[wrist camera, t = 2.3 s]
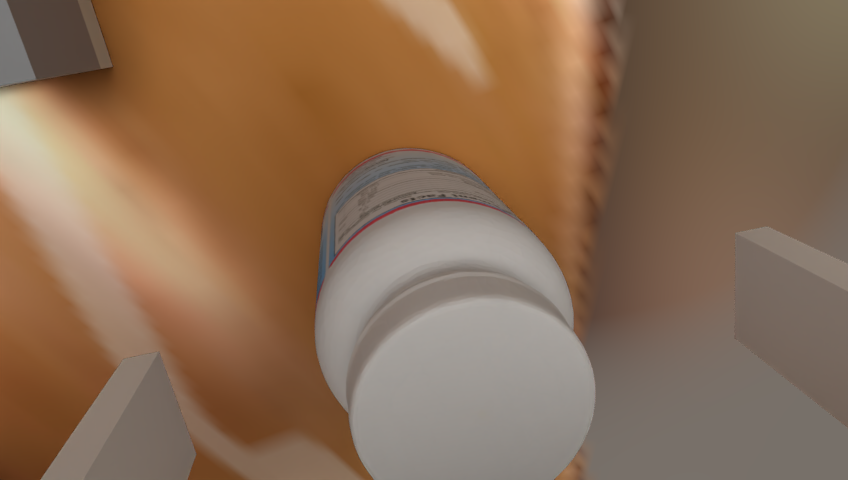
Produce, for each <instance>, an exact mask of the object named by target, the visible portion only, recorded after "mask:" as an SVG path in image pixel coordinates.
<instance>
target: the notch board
mask: <svg viewBox="0 0 848 480" xmlns="http://www.w3.org/2000/svg"><path fill="white" fill-rule="evenodd" d="M109 67H113V65H112V62H111V59H110V56H109V53H108V50H107V47H106V44H105V41H104V38H103V35H102V32H101V29H100V26H99V23H98V20H97V17H96V14H95V11H94V8H93V5H92V2H91V0H0V87H3V86H9V85H15V84H20V83H26V82H31V81H37V80H43V79H48V78H54V77H59V76H65V75H70V74H76V73H82V72H87V71H93V70H98V69H104V68H109Z"/></svg>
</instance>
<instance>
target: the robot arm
mask: <svg viewBox="0 0 848 480" xmlns="http://www.w3.org/2000/svg"><path fill="white" fill-rule="evenodd" d="M735 339H736V340H738V341H739V342H740V343H741V344H743V345H744V346H745V347H747V348H748V349H749V350H750V351H751V352H753V353H754V354H755V355H757V356H758V357H759V358H760V359H762V360H763V361H764V362H765V363H767V364H768V365H769V366H770V367H772V368H773V369H774V370H776V371H777V372H778V373H779V374H781V375H782V376H783V377H784V378H786V379H787V380H788V381H789V382H791V383H792V384H793V385H794V386H796V387H797V388H798V389H799V390H801V391H802V392H803V393H805V394H806V395H807V396H808V397H810V398H811V399H812V400H813V401H815V402H816V403H817V404H818V405H820V406H821V407H822V408H824V409H825V410H826V411H827V412H828V413H830V414H831V415H832V416H833V417H835V418H836V419H837V420H839V421H840V422H841V423H842V424H844V425H845V426H846V427H847V428H848V264H847V263H845V262H843V261H840V260H838V259H836V258H834V257H832V256H829V255H828V254H825V253H823V252H821V251H819V250H817V249H815V248H812V247H810V246H808V245H806V244H804V243H802V242H800V241H798V240H795V239H793V238H791V237H789V236H786V235H785V234H782V233H780V232H778V231H776V230H774V229H772V228H770V227H762V228H757V229H752V230H748V231H742V232H738V233H735ZM195 457H196V452H195V449H194V446H193V443H192V441H191V438H190V435H189V432H188V430H187V427H186V424H185V421H184V419H183V416H182V413H181V410H180V408H179V405H178V402H177V399H176V397H175V394H174V391H173V388H172V386H171V383H170V380H169V378H168V375H167V372H166V369H165V367H164V364H163V361H162V358H161V356H160V353H159V352H154V353H150V354H145V355H140V356H135V357H130V358H125V359H123V360H122V362H121V363H120V365H119V366H118V368H117V369H116V370H115V372H114V373H113V375H112V376H111V378H110V379H109V381H108V382H107V384H106V385H105V386H104V388H103V389H102V391H101V392H100V394H99V395H98V397H97V398H96V400H95V401H94V402H93V404H92V405H91V407H90V408H89V410H88V411H87V413H86V414H85V416H84V417H83V418H82V420H81V421H80V423H79V424H78V426H77V427H76V429H75V430H74V432H73V433H72V434H71V436H70V437H69V439H68V440H67V442H66V443H65V445H64V446H63V448H62V449H61V450H60V452H59V453H58V455H57V456H56V458H55V459H54V461H53V462H52V464H51V465H50V466H49V468H48V469H47V471H46V472H45V474H44V475H43V477H42V478H41V480H187V479H188V476H189V474H190V471H191V468H192V465H193V462H194V460H195Z"/></svg>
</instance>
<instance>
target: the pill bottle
mask: <svg viewBox="0 0 848 480" xmlns="http://www.w3.org/2000/svg"><path fill="white" fill-rule="evenodd" d="M573 328H574V314H573V307H572V300H571V296H570V292H569V289H568V286H567V283H566V280H565V278H564V276H563V273H562V271H561V270H560V268H559V266H558V264H557V262H556V261H555V259H554V258H553V256H552V255H551V253H550V252H549V251H548V249H547V248H546V247H545V246H544V244H543V243H542V242H541V241H540V240H539V238H538V237H537V236H536V235H535V234H534V233H533V232H532V231H531V230H530V229H529V228H528V227H527V226H526V225H525V224H524V223H523V222H522V221H521V220H520V219H519V218H518V217H517V216H516V215H515V214H514V213H513V212H512V211H511V210H510V209H509V208H508V207H507V206H506V205H505V204H504V203H503V202H502V201H501V200H500V199H499V198H498V197H497V196H496V195H495V194H494V193H493V192H492V191H491V190H490V189H489V188H488V187H487V186H486V185H485V184H484V183H483V182H482V180H481V179H480V178H479V177H478V176H477V175H476V174H475V173H473V172H472V171H471V170H470V169H469V168H467V167H466V166H465V165H463V164H462V163H460V162H458V161H457V160H455V159H453V158H450V157H448V156H446V155H444V154H441V153H437V152H433V151H429V150H425V149H416V148H402V149H394V150H389V151H385V152H382V153H379V154H377V155H374V156H372V157H370V158H368V159H366V160H364V161H363V162H361V163H360V164H358V165H357V166H356V167H354V168H353V169H352V170H351V171H350V172H349V173H348V174H347V175H346V176H345V177H344V178H343V179H342V180H341V182H340V183H339V184H338V185H337V187H336V188H335V190H334V192H333V193H332V195H331V197H330V199H329V201H328V204H327V207H326V210H325V213H324V218H323V223H322V231H321V244H320V256H319V269H318V283H317V297H316V310H315V344H316V351H317V356H318V360H319V364H320V367H321V370H322V373H323V375H324V378H325V380H326V382H327V384H328V386H329V388H330V390H331V391H332V393H333V394H334V396H335V398H336V399H337V400H338V402H339V403H340V404H341V405H342V407H343V408H344V409H345V410H346V411H347V412H348V413H349V424H350V430H351V434H352V439H353V442H354V445H355V448H356V451H357V453H358V456H359V458H360V460H361V462H362V463H363V465H364V466H365V468H366V470H367V471H368V473H369V474H370V475H371V476H372V478H373V479H374V480H554V479H555V478H556V477H557V476H558V475H559V474H560V473H561V472H562V471H563V470H564V469H565V468H566V467H567V466H568V464H569V463H570V462H571V461H572V459H573V458H574V457H575V455H576V454H577V452H578V451H579V449H580V447H581V446H582V444H583V442H584V440H585V438H586V436H587V433H588V431H589V428H590V425H591V422H592V418H593V414H594V408H595V390H596V386H595V379H594V373H593V369H592V366H591V362H590V359H589V357H588V355H587V352H586V350H585V348H584V346H583V344H582V343H581V341H580V340H579V338H578V337H577V335H576V334H575V332H574V331H573Z"/></svg>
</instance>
